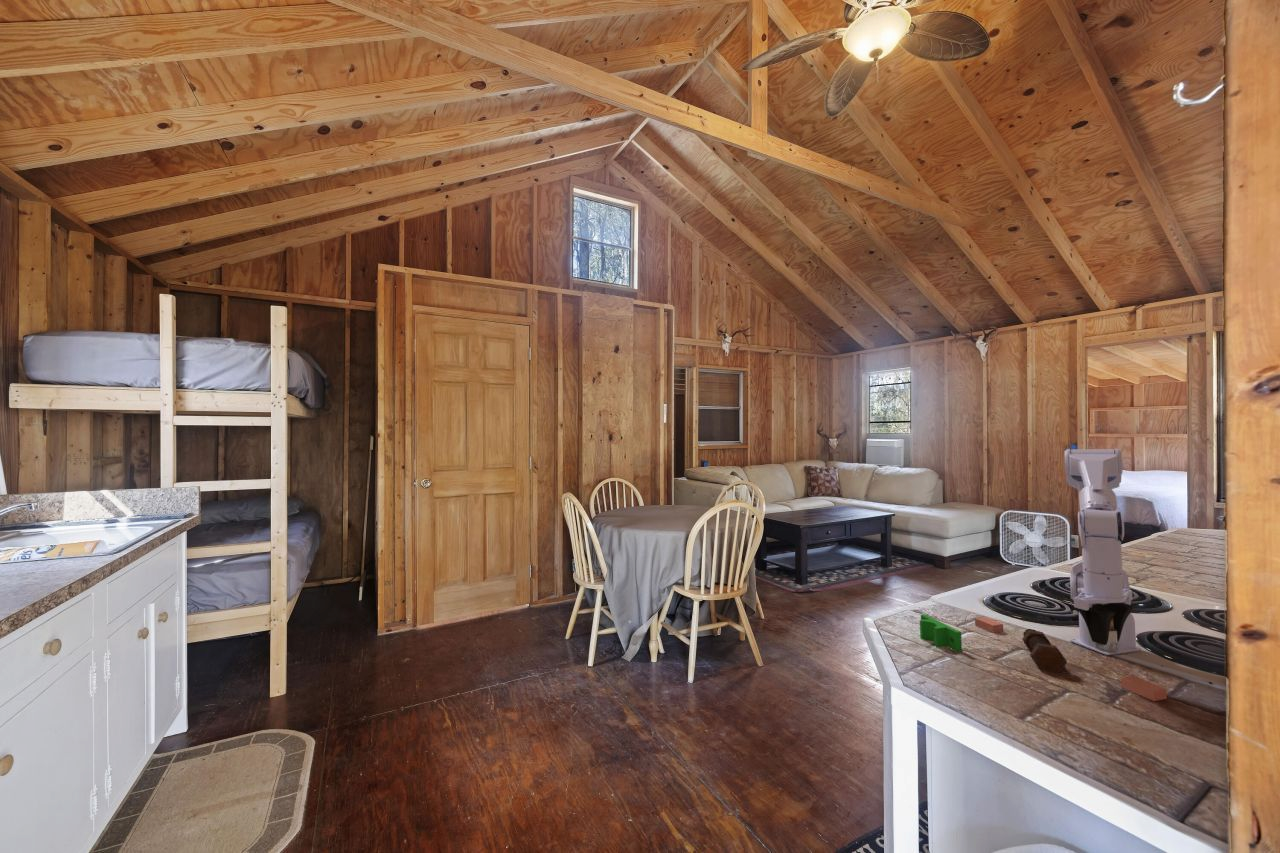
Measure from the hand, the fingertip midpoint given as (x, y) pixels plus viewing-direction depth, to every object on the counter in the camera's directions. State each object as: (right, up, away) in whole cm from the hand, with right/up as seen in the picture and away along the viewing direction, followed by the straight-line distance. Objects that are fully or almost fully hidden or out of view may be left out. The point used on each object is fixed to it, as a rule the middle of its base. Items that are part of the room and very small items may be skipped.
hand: (1105, 641), depth 98 cm
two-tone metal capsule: (0, -2, 0) cm, 2 cm away
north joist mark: (+1, -7, -6) cm, 9 cm away
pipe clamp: (-22, -8, +19) cm, 30 cm away
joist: (-5, -8, +25) cm, 27 cm away
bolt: (-5, -8, +10) cm, 13 cm away
